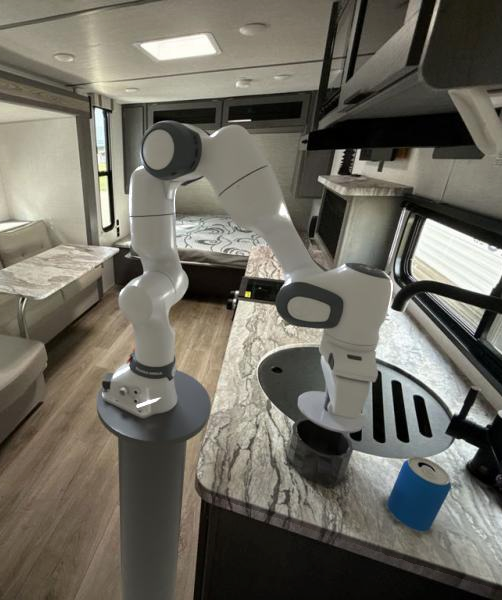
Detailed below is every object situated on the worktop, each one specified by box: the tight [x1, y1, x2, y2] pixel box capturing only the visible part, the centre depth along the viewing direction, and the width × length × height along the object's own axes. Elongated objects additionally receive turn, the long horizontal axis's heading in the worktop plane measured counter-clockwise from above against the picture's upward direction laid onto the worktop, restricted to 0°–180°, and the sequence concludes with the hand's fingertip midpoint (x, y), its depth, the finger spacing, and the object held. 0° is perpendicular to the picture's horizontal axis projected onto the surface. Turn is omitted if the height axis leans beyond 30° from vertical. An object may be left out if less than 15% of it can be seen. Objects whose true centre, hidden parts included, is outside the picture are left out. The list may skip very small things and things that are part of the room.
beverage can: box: [386, 455, 452, 532], centre depth 56 cm, size 6×6×12 cm
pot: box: [286, 417, 355, 486], centre depth 68 cm, size 12×17×7 cm
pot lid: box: [297, 390, 366, 434], centre depth 64 cm, size 12×12×5 cm
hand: (330, 406), depth 64 cm, fingers closed on pot lid, 2 cm apart
